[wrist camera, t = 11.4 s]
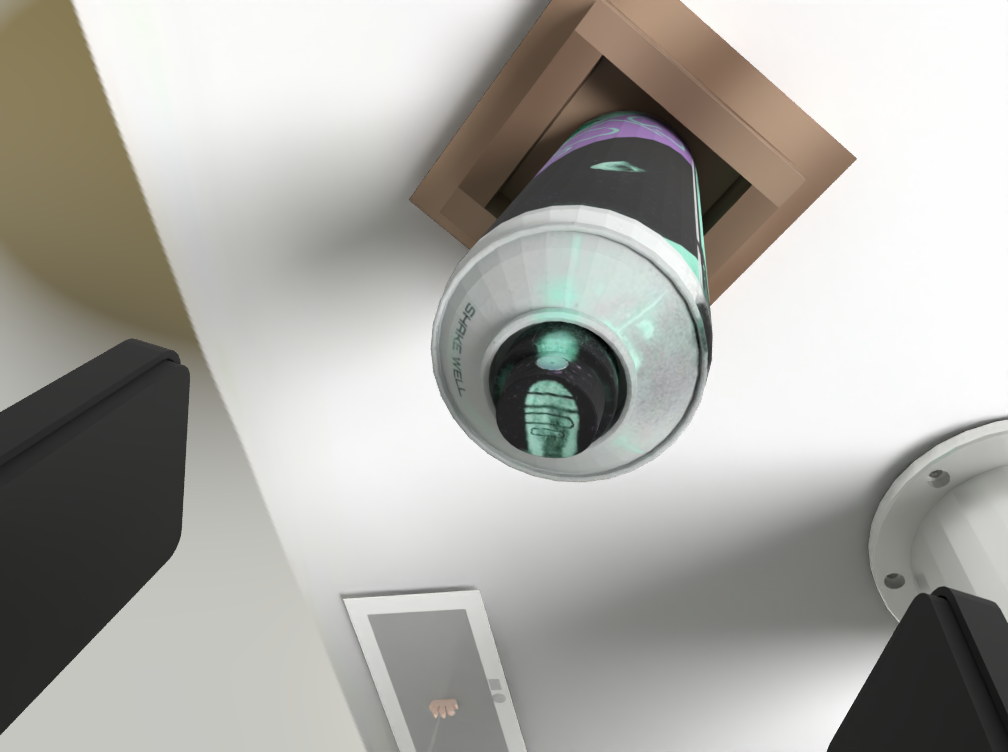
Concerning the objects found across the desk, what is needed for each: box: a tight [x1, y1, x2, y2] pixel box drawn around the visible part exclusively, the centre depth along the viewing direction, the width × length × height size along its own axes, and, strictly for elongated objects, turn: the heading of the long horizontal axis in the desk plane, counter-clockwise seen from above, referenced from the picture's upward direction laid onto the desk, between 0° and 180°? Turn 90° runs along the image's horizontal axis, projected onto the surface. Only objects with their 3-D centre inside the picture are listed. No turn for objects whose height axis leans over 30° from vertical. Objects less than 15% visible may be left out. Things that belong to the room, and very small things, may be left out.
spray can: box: [431, 110, 712, 482], centre depth 22 cm, size 6×6×20 cm
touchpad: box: [343, 590, 527, 752], centre depth 46 cm, size 8×15×2 cm, turn 14°
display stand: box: [409, 0, 857, 306], centre depth 31 cm, size 12×12×5 cm
